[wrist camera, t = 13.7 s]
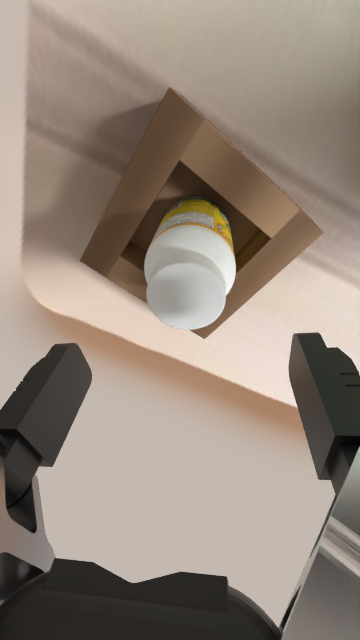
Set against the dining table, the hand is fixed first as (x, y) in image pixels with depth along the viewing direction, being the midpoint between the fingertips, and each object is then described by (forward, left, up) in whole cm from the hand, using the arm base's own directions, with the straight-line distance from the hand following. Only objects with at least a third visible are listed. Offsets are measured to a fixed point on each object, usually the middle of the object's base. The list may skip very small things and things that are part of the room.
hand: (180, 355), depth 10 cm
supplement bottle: (0, 0, -14) cm, 14 cm away
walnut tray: (0, 0, -16) cm, 17 cm away
